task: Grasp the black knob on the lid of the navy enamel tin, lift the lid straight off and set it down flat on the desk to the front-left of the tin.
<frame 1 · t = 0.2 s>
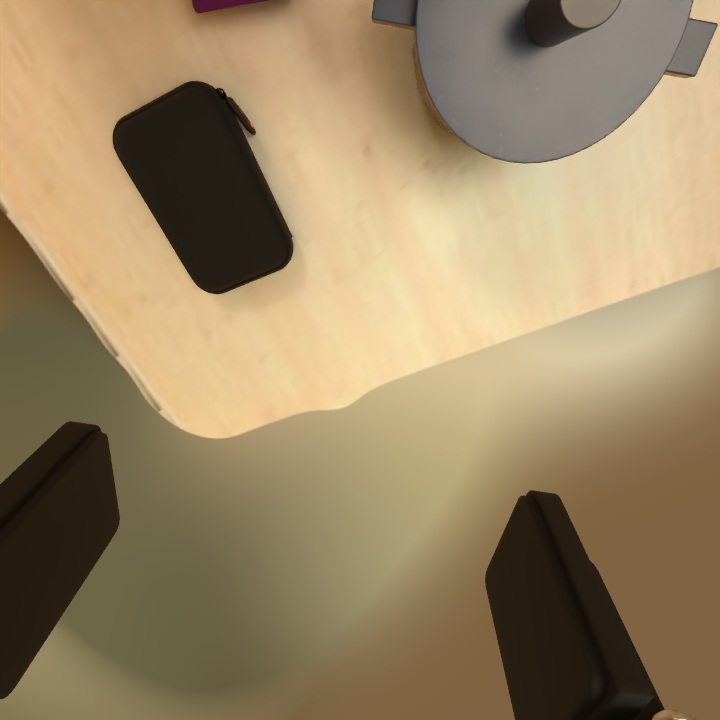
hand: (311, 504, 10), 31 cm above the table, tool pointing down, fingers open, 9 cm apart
tin lid: (547, 18, 23), point 9 cm above the table, touching tin
carrying case: (220, 192, 37), on the table
tin: (503, 46, 31), on the table
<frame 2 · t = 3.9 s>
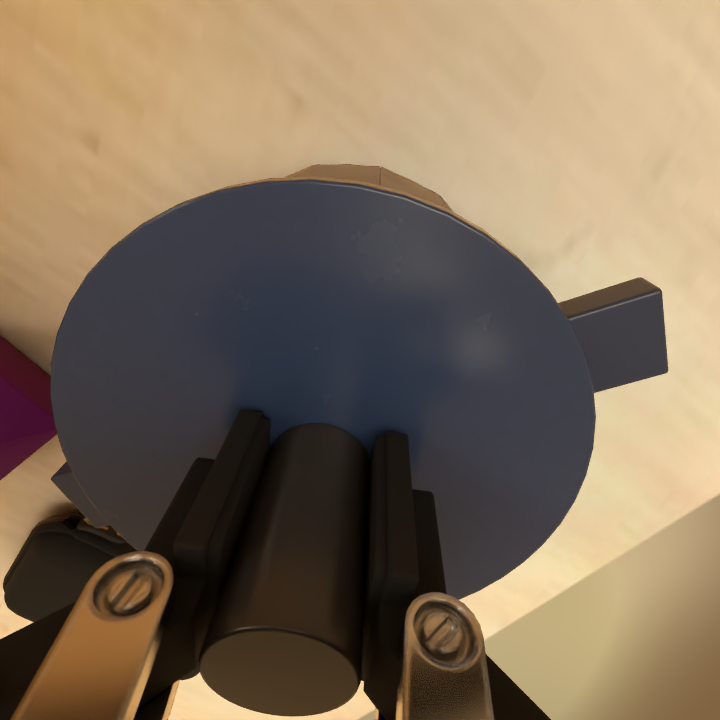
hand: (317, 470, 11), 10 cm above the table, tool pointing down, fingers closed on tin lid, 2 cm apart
tin lid: (322, 448, 12), point 10 cm above the table, touching gripper, tin
carrying case: (147, 573, 30), on the table
perfume bottle: (4, 373, 23), on the table
tin: (347, 313, 20), on the table
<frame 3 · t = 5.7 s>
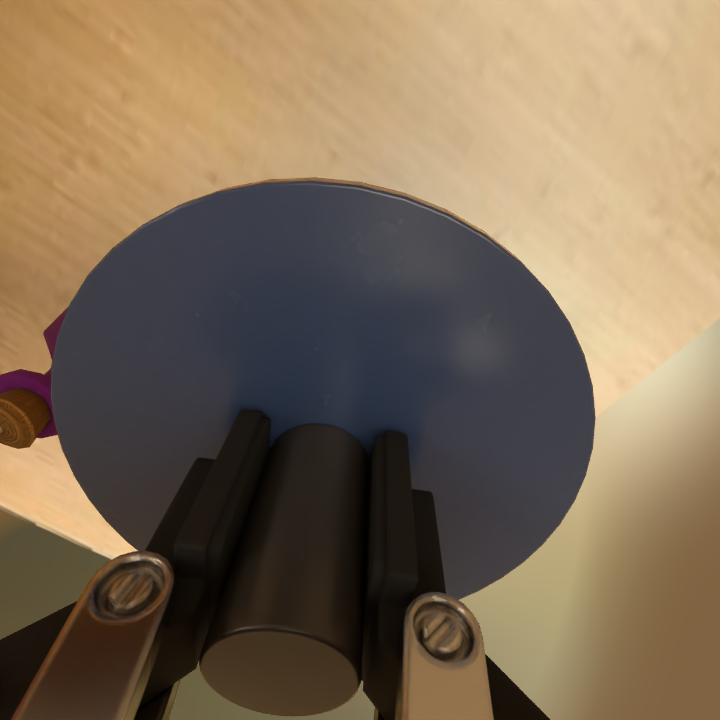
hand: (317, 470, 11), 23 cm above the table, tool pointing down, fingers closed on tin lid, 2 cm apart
tin lid: (322, 448, 12), point 22 cm above the table, touching gripper
perfume bottle: (138, 323, 35), on the table
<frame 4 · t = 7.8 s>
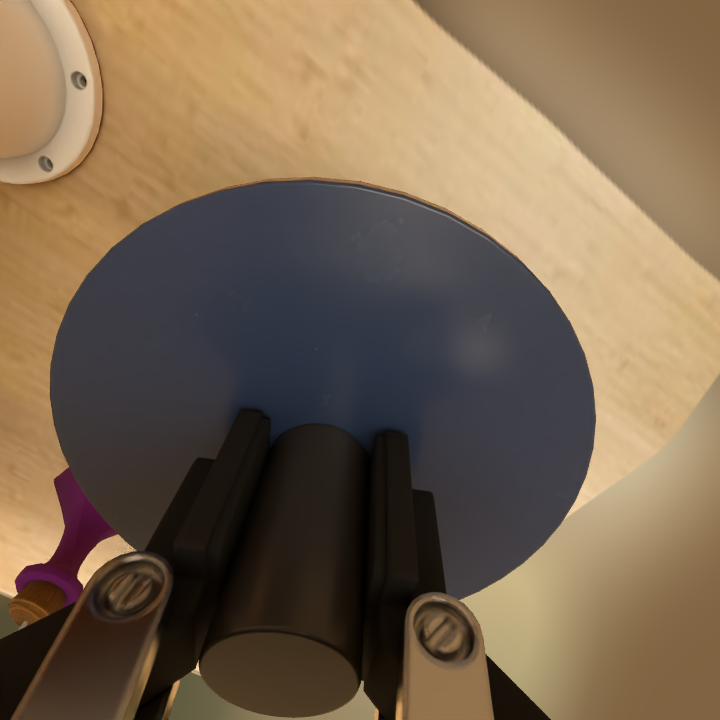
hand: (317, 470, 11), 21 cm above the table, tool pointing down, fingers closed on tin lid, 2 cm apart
tin lid: (322, 448, 12), point 20 cm above the table, touching gripper
perfume bottle: (136, 460, 40), on the table
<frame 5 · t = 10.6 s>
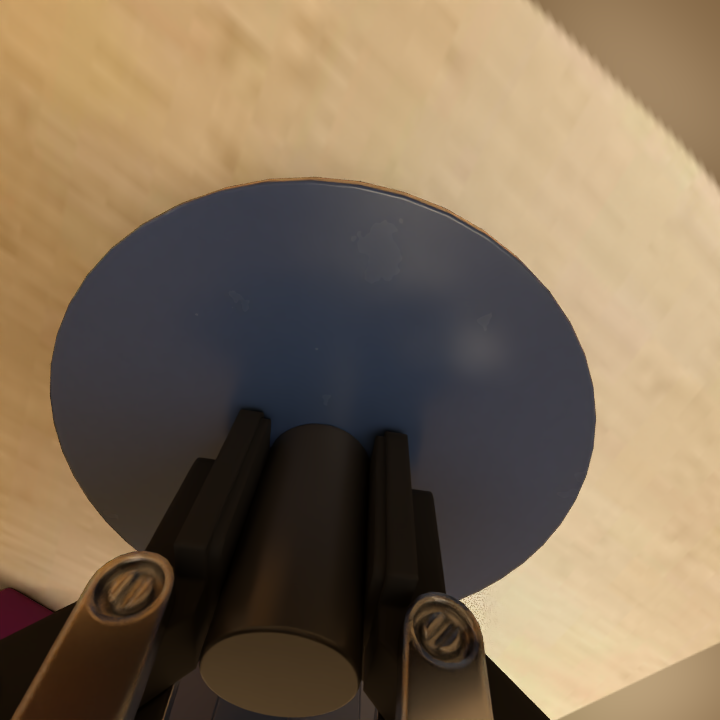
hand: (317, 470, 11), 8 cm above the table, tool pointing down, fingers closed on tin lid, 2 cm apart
tin lid: (322, 448, 12), point 7 cm above the table, touching gripper
perfume bottle: (23, 612, 28), on the table
tin: (300, 586, 25), on the table
when the fingers open (1 cm above the table, at t = 12.2 s): tin lid stays where it is, point 1 cm above the table.
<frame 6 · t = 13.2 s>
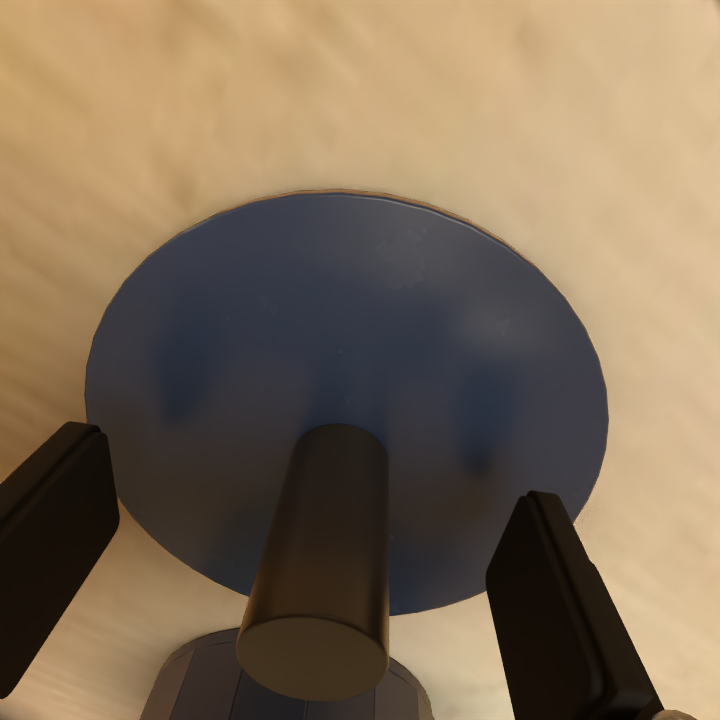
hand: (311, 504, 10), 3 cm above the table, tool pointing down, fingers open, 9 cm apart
tin lid: (342, 447, 12), point 1 cm above the table
tin: (293, 708, 20), on the table
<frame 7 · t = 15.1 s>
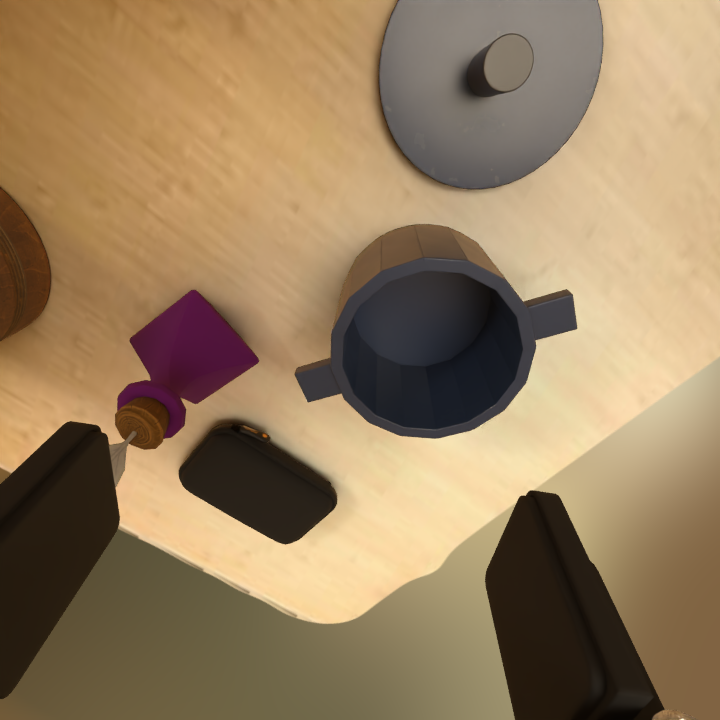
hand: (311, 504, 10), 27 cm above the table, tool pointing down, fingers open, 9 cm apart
tin lid: (486, 73, 28), point 1 cm above the table
carrying case: (266, 472, 46), on the table
perfume bottle: (209, 332, 38), on the table
tin: (419, 303, 36), on the table
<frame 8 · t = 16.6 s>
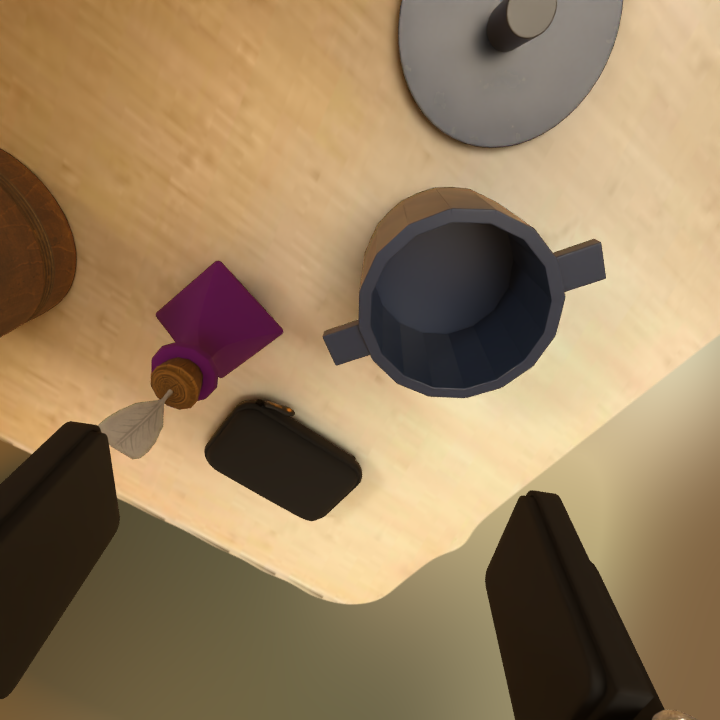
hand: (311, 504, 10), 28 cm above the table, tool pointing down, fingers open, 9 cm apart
tin lid: (505, 28, 28), point 1 cm above the table
carrying case: (290, 449, 46), on the table
perfume bottle: (232, 307, 39), on the table
tin: (441, 269, 36), on the table
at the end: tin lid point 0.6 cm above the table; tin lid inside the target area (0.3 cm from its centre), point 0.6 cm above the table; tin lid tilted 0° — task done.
